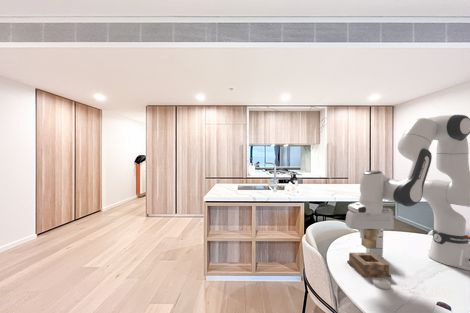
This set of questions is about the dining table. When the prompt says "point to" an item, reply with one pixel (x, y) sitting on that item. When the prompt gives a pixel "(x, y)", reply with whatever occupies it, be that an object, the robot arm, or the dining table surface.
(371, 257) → the socket block
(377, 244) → the syrup box
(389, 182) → the robot arm
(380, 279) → the grey flat pebble
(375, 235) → the oak peg
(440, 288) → the dining table surface
